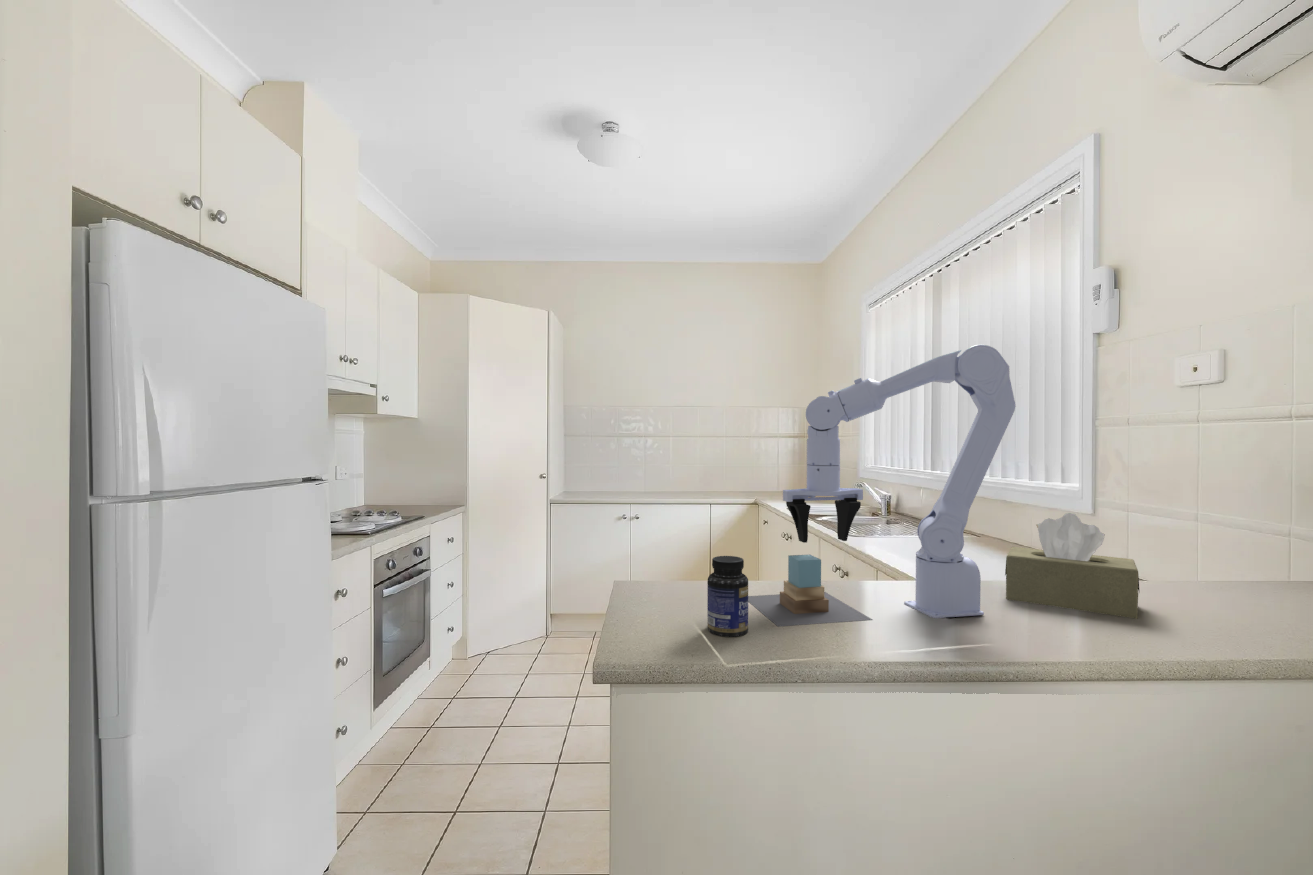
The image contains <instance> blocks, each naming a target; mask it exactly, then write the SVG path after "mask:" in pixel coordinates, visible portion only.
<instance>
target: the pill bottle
mask: <svg viewBox="0 0 1313 875" xmlns="http://www.w3.org/2000/svg"><path fill="white" fill-rule="evenodd" d="M711 560H712V562H711V565H712V569H713V572H711V573H710V574H709V575H708V577H707V613H706V614H707V615H706V616H707V626H706V628H707V630H708V632H709V633H710V634H712V635H715V636H717V637H725V638H737V637H742V636H744V635H747V633H748V632H749V602H748V596H749V578H748V577H747V575H746V574H745V573H743V569H744V566H745V562H744V561H745V560H744V558H742V557H740V556H735V555H720V556H719V555H718V556H715V557H713V558H712V559H711Z"/></svg>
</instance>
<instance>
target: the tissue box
mask: <svg viewBox="0 0 1313 875" xmlns="http://www.w3.org/2000/svg"><path fill="white" fill-rule="evenodd" d="M1036 528H1037V531H1038V532H1037V533H1038V537H1039V541H1040V545H1041V549H1040V548H1039V549H1037V548H1030V547H1029V548H1028V547H1019V546H1012V547H1011V548H1010V549H1009V551H1008V553H1007V555H1006V556H1005V558H1006V559H1005V574H1004V576H1005V577H1006V578H1005V590H1006V591H1005V599H1006V600H1009V601H1010V600H1011V601H1016V602H1023V603H1029V604H1036V605H1043V606H1048V607H1049V606H1051V607H1055V608H1064V609H1068V610H1077V611H1083V612H1088V613H1089V612H1090V613H1094V614H1095V613H1097V614H1103V615H1110V616H1115V617H1116V616H1117V617H1122V618H1130V619H1137V620H1138V614H1139V612H1138V611H1139V608H1138V606H1139V594H1140V576H1139V570H1138V567H1137V564H1136V562H1135V560H1134V559H1133V558H1126V557H1117V556H1105V555H1096V554H1095V553H1096V552H1097V550H1098V549H1099V548H1100V547H1101V546H1102V545H1103V543H1104V540H1105V535H1106V534H1105V533H1103V532H1101V530H1100V528H1099V527H1098V526H1096V525H1095V524H1086V523H1083V522H1082V521H1081V519H1080V517H1079V516H1078V515H1077V514H1076V513H1071V512H1067V513H1064V515H1063V516H1061V517H1059V518H1056V519H1053V518H1049V517H1048V518H1046V519H1045V518H1044V520H1043V521H1042V522H1041V523H1037V524H1036Z"/></svg>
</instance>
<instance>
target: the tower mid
mask: <svg viewBox="0 0 1313 875" xmlns="http://www.w3.org/2000/svg"><path fill="white" fill-rule="evenodd" d="M783 591H784V593H786V594H787V595H788V596H790V597H791V598H793V599H794V600H796V601H800V600H817V599H824V592H825V586H824V585H822V584H821V587H807V588H798V587H796V586H795V585H793V584H791V583H790V582H788V580H783Z"/></svg>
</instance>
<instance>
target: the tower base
mask: <svg viewBox="0 0 1313 875" xmlns="http://www.w3.org/2000/svg"><path fill="white" fill-rule="evenodd" d="M779 594H780V604H782V605H783V606H784V607H786V608H787V609H788V610H790V611H791V612H792V613H794V614H802V613H818V612H829V600H828V599H827V598H825V597H824V599H817V600H800V601H796V600H794V599H793V598H791V597H790V596H788V595H787V594H786V593H784V590H783V591H779Z"/></svg>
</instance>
